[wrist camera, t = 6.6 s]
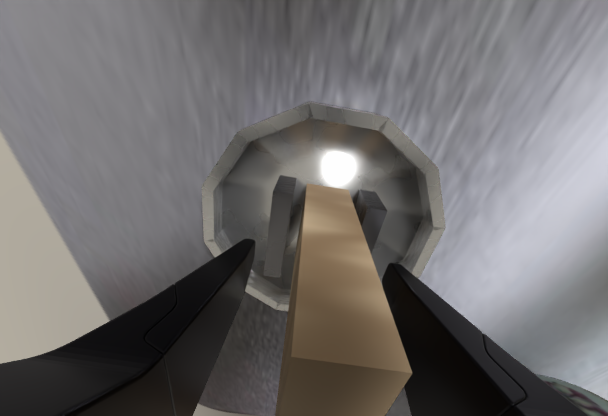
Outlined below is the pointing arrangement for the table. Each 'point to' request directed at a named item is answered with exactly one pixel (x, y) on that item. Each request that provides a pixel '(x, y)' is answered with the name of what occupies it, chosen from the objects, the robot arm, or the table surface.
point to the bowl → (579, 396)
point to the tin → (326, 172)
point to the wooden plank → (338, 319)
